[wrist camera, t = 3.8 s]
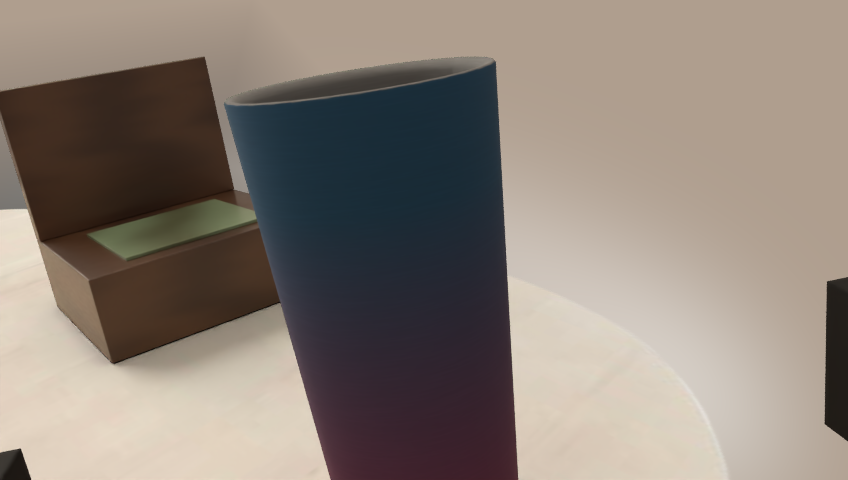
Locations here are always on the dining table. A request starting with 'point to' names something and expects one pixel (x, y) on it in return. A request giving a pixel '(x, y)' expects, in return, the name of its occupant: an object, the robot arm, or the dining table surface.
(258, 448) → the dining table surface
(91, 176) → the open wooden box
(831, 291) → the robot arm
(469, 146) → the cup
